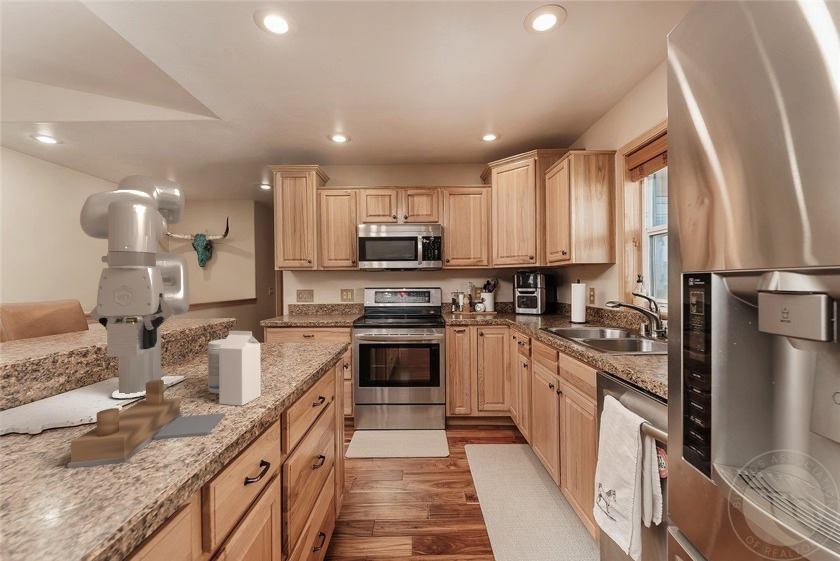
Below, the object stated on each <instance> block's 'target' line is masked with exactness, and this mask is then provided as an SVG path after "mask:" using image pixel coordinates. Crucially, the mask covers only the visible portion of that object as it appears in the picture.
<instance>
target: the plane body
mask: <svg viewBox="0 0 840 561" xmlns="http://www.w3.org/2000/svg"><path fill="white" fill-rule="evenodd" d="M164 382H165V380H164V379H161V380H151V381H149V382H147V383H146V396H145V399H142V400H140V401H138V402H137V403H135V404H133V405H131V406H130V407H128V408H127V409H125V410H123V411H121V412H120V409H119V408H117V407H113V408H106V409H104V410H100V411H98V412H96V427H94V428H92V429H91V430H89V431H87V432H86V433H83V434H82V435H80V436H78V437H77V438H75V439H73V440H71V442H70V462H68V463H67V469H76V468H83V467H93V466H103V465H112V464H121V463H126V462H127V461H129V460H130V459H132V457H133V456H135V455H136V454H137V453H138V452H140V451H141V450H142V449H143V448H145V447H146V446H147V445H148V444H149V443H151V442H152V441H153V437H154V436H155V435H157V434H158V433H159V432H160V431H162V430H163V429H164V428H165V427H166V426H168V425H169V424H170V423H171V422H173V421H174V420H175V419H176V418H178V417H183V412H182V411H181V398H180V397H173V398H172V397H171V398H169V397H168V398H164V397H165V396H164V395H165V394H164V393H165V390H164Z"/></svg>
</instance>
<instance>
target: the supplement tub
mask: <svg viewBox="0 0 840 561" xmlns="http://www.w3.org/2000/svg"><path fill="white" fill-rule="evenodd" d="M225 339H226V338H221V339H216V340H211V341H208V344H207V345H208V347H207V380H208V382H207V385H208V389H207V390H208V391H209V393H211V394H216V395H219V347H220V346H221V344H222V343H223V342H224V340H225Z"/></svg>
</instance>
